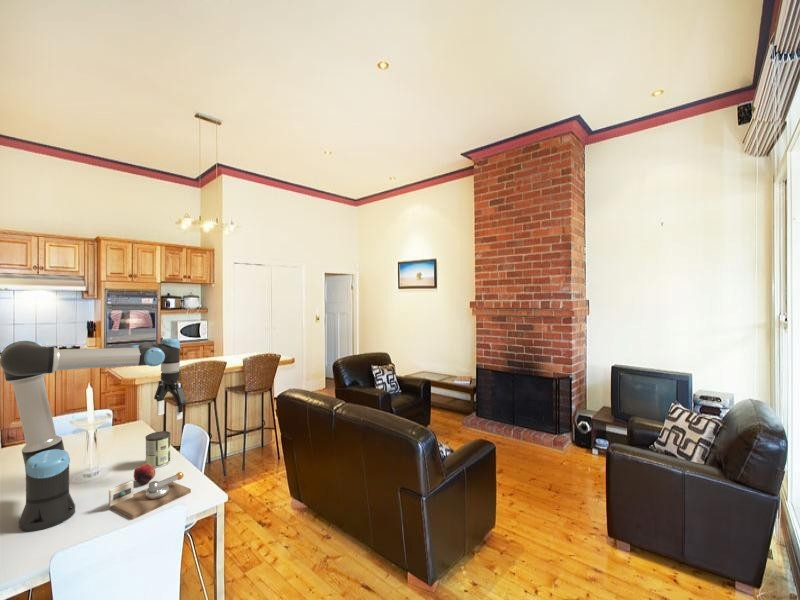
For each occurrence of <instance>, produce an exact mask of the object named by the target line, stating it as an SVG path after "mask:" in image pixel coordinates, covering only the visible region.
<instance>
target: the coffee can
mask: <svg viewBox="0 0 800 600" xmlns="http://www.w3.org/2000/svg"><path fill="white" fill-rule="evenodd" d="M170 463H171V432H170V431H166V430H165V431H164V430H163V431H161V430H160V431H155V432H151V433H149V434H147V435H146V436H145V464H150V465H151V466H153V467H154V469H156V468H161V467H164V466H167V465H168V464H170Z"/></svg>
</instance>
